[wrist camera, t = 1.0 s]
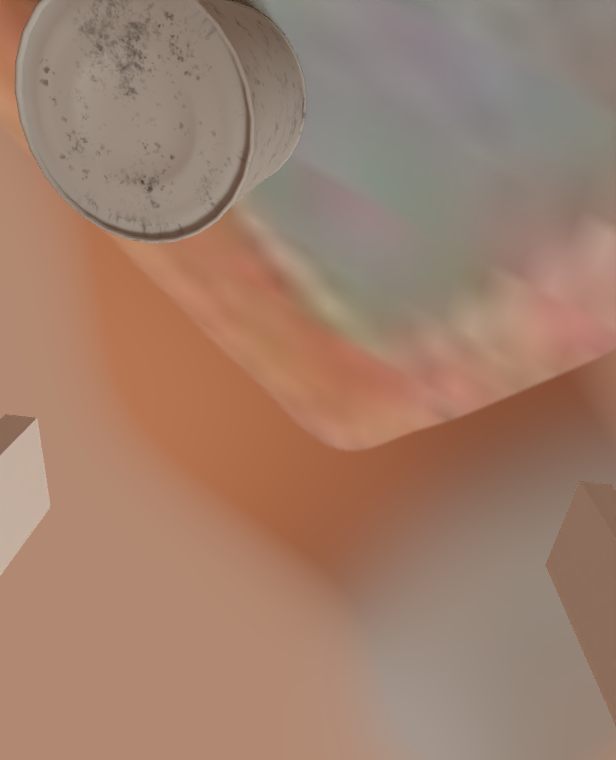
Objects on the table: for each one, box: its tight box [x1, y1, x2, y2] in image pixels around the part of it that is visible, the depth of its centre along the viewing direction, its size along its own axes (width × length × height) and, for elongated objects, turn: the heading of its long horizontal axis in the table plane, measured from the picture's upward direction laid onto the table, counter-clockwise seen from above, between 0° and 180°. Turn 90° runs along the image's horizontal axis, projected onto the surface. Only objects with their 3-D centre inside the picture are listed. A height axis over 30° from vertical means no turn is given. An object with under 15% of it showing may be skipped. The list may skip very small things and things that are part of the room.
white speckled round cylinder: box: [15, 0, 307, 243], centre depth 26 cm, size 10×10×12 cm
